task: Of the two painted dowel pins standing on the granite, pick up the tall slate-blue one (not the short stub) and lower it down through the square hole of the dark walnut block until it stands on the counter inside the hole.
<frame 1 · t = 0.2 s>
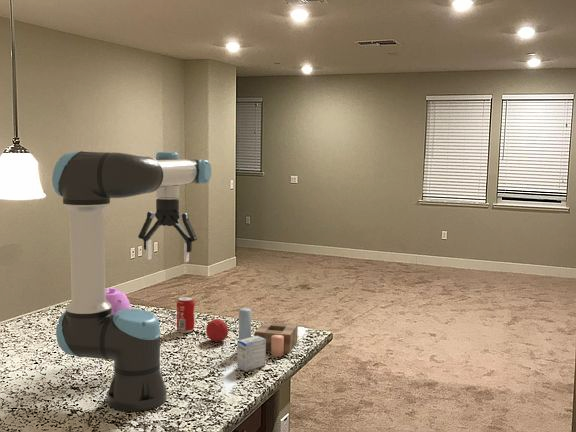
hand: (167, 260, 212), 28 cm above the countertop, fingers open, 13 cm apart
beverage can: (185, 331, 226), on the countertop
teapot: (113, 315, 245), on the countertop
tomato: (217, 341, 215), on the countertop
long pin: (244, 351, 205), on the countertop
short pin: (277, 354, 202), on the countertop
medicine box: (251, 367, 191), on the countertop
hole block: (276, 345, 211), on the countertop
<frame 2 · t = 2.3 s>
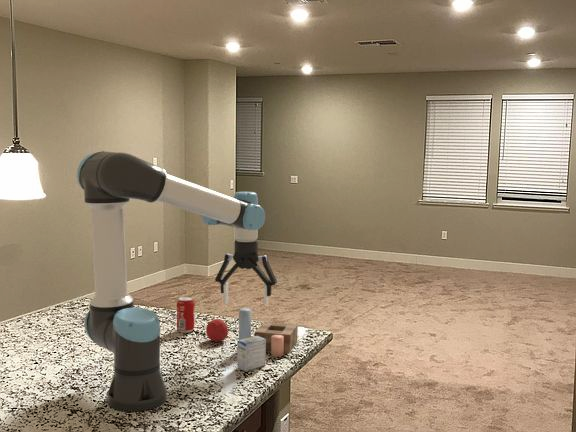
hand: (245, 304, 203), 16 cm above the countertop, fingers open, 13 cm apart
nothing on the countertop moved.
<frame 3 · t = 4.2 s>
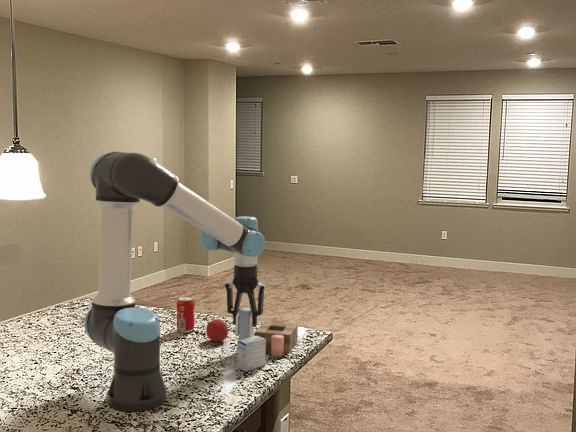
hand: (244, 334, 204), 6 cm above the countertop, fingers closed on long pin, 4 cm apart
long pin: (244, 351, 205), on the countertop, touching gripper
everything else where it was.
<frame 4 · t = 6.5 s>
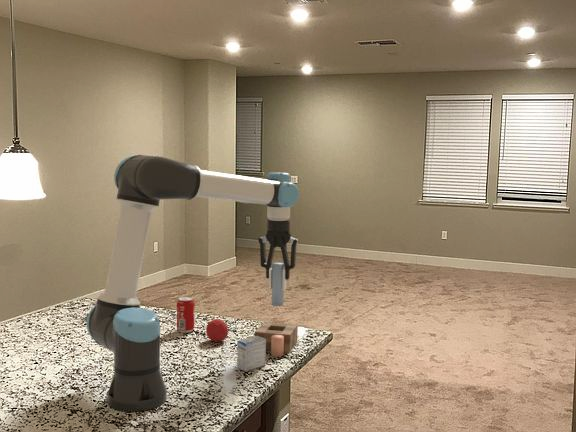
hand: (277, 288, 209), 20 cm above the countertop, fingers closed on long pin, 4 cm apart
long pin: (277, 304, 210), point 14 cm above the countertop, touching gripper
everything else where it was.
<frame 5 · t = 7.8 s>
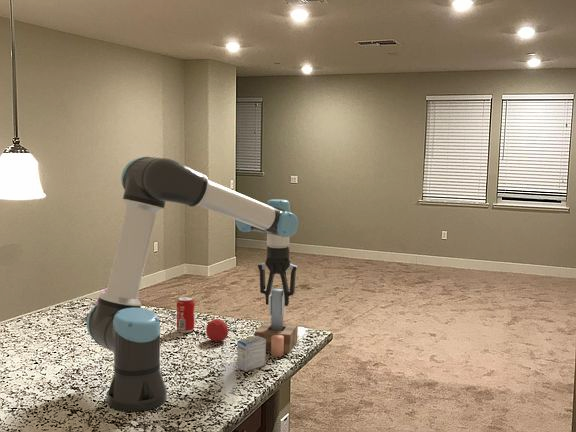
hand: (277, 314, 210), 11 cm above the countertop, fingers closed on long pin, 4 cm apart
long pin: (276, 330, 211), point 5 cm above the countertop, touching gripper
everything else where it was.
when the fingers open (8 cm above the countertop, at t = 8.9 s): long pin drops 2 cm, resting in hole block.
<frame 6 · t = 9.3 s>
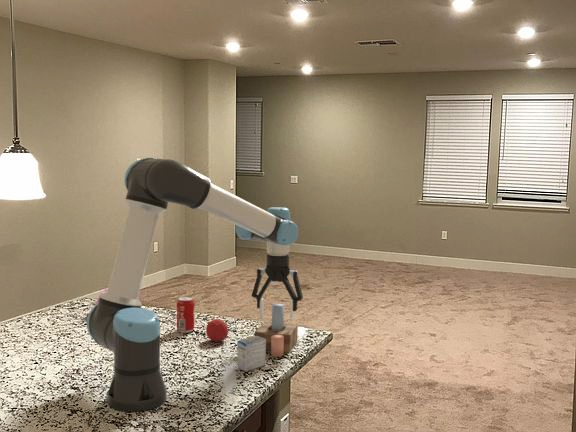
hand: (276, 319, 210), 9 cm above the countertop, fingers open, 10 cm apart
long pin: (276, 345, 211), resting in hole block
everything else where it was.
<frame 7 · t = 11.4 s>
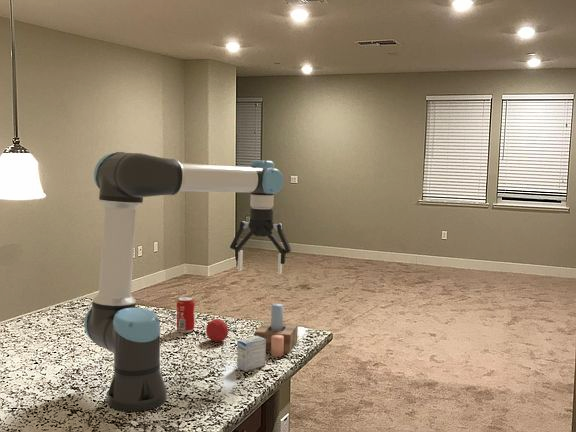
hand: (259, 272, 206), 26 cm above the countertop, fingers open, 13 cm apart
nothing on the countertop moved.
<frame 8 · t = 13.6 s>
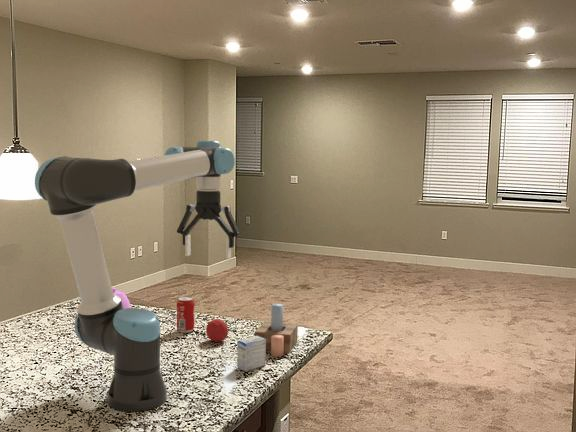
hand: (208, 256, 199), 32 cm above the countertop, fingers open, 13 cm apart
nothing on the countertop moved.
at the end: long pin 0.1 cm off-centre on the hole block, point 0.0 cm above the hole block's base; long pin tilted 0°; short pin moved 0.0 cm from its start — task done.
